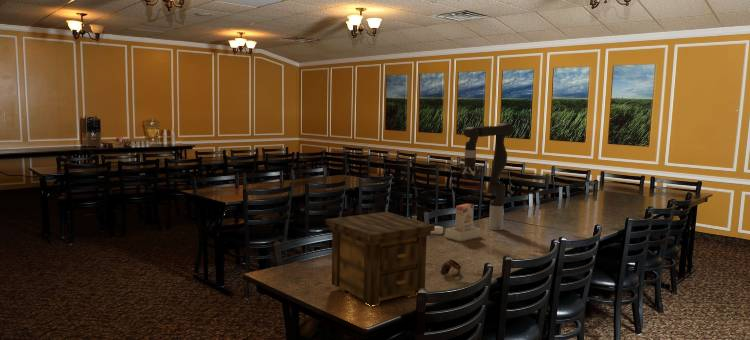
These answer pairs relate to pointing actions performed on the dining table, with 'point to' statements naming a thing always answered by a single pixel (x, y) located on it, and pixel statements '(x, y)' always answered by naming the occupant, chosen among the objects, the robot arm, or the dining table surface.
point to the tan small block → (437, 230)
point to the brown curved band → (448, 264)
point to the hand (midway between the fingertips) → (469, 180)
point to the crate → (378, 255)
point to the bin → (462, 234)
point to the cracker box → (463, 217)
